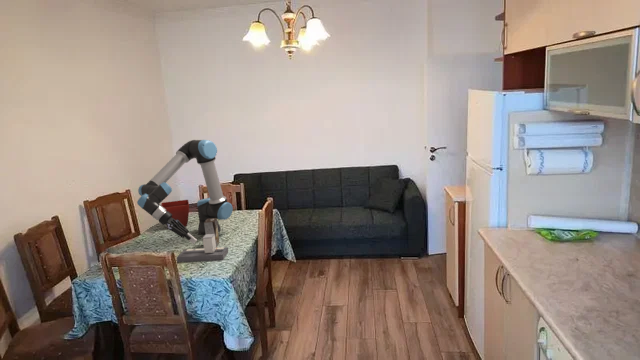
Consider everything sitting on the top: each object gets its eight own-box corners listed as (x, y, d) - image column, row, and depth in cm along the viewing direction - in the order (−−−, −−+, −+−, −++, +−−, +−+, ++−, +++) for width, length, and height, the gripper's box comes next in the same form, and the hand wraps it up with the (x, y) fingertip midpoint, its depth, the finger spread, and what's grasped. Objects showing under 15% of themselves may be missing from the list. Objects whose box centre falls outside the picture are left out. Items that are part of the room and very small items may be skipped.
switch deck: (177, 262, 237) (176, 256, 237) (184, 254, 249) (184, 249, 248) (223, 259, 236) (222, 254, 235) (228, 252, 248) (227, 246, 247)
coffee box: (217, 246, 258) (214, 221, 255) (206, 247, 258) (203, 222, 254) (219, 242, 267) (216, 217, 264) (209, 243, 267) (206, 218, 263)
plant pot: (191, 220, 323) (188, 199, 320) (191, 227, 305) (188, 204, 302) (164, 224, 317) (161, 202, 314) (163, 231, 299) (160, 208, 296)
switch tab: (204, 253, 239) (202, 237, 237) (207, 249, 245) (205, 234, 243) (213, 252, 238) (211, 237, 237) (216, 248, 244) (214, 233, 243)
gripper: (162, 217, 245) (194, 242, 248) (153, 223, 232) (187, 250, 235) (170, 207, 244) (202, 233, 247) (162, 213, 231) (195, 241, 234)
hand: (195, 242), depth 241 cm, fingers closed
